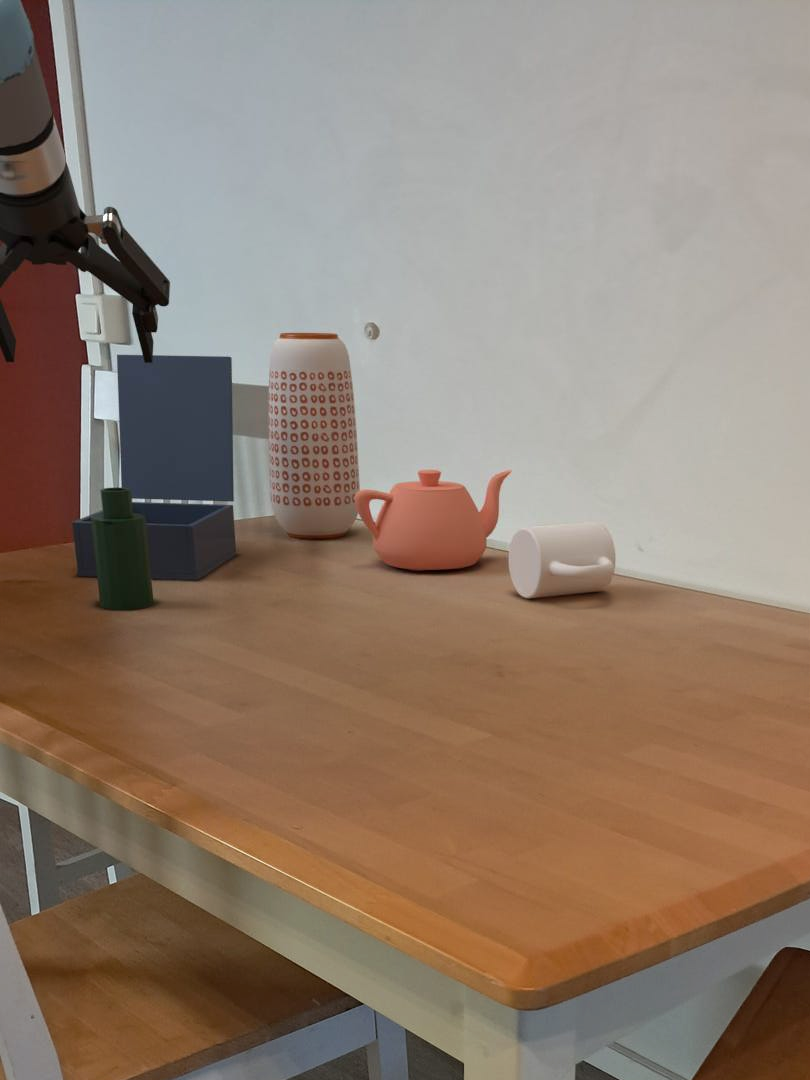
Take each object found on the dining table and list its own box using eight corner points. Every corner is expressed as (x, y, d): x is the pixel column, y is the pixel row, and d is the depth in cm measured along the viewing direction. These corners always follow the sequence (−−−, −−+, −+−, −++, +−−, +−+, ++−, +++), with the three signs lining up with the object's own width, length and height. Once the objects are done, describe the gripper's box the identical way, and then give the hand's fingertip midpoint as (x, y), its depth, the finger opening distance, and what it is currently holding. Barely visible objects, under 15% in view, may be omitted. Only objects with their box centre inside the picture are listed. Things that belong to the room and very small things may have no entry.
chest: (196, 580, 161) (192, 525, 158) (78, 576, 162) (71, 522, 160) (236, 554, 177) (233, 504, 174) (128, 551, 178) (123, 501, 176)
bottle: (92, 609, 146) (79, 492, 141) (111, 597, 151) (99, 485, 146) (142, 610, 145) (131, 493, 140) (160, 599, 151) (150, 486, 146)
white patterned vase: (353, 542, 186) (347, 335, 175) (264, 541, 187) (252, 334, 176) (366, 527, 199) (361, 332, 187) (282, 526, 199) (272, 331, 188)
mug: (506, 591, 157) (508, 522, 154) (579, 584, 162) (582, 517, 158) (557, 612, 147) (560, 539, 144) (633, 604, 151) (637, 533, 148)
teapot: (490, 549, 183) (492, 460, 178) (531, 569, 170) (534, 474, 165) (342, 558, 175) (339, 465, 170) (372, 579, 163) (370, 480, 158)
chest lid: (229, 356, 169) (244, 363, 176) (116, 354, 171) (134, 361, 177) (232, 501, 174) (245, 502, 180) (121, 498, 175) (139, 499, 182)
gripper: (-135, 199, 106) (-51, 381, 126) (169, 203, 108) (204, 381, 127) (-124, 134, 109) (-44, 322, 128) (172, 139, 110) (207, 323, 130)
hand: (80, 352), depth 128 cm, fingers open, 13 cm apart
